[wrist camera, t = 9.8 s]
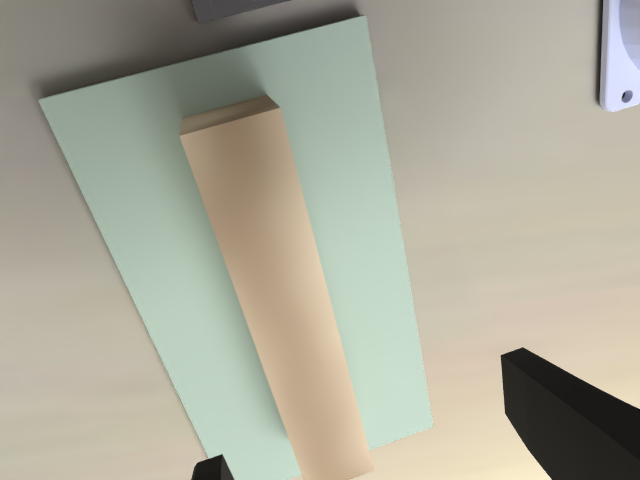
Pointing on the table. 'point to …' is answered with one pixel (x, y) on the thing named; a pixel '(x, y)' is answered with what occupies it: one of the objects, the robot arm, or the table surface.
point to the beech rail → (279, 279)
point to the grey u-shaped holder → (227, 7)
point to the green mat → (203, 249)
